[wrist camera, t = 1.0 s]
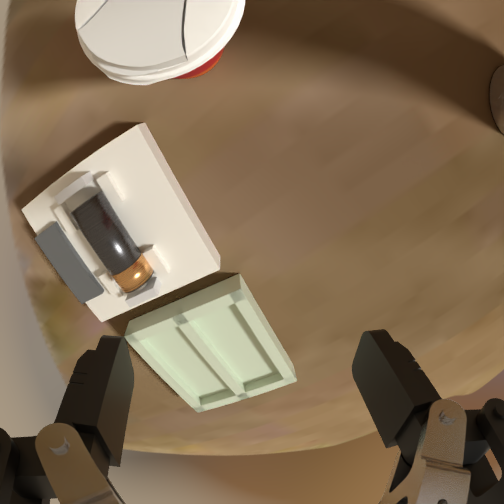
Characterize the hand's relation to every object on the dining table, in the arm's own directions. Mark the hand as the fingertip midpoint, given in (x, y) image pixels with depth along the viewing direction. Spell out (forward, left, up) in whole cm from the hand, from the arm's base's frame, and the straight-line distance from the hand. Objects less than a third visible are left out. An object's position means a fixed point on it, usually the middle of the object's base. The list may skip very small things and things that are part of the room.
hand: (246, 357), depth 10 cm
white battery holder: (+11, -2, -19) cm, 22 cm away
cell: (+11, -2, -17) cm, 20 cm away
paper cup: (-2, -13, -19) cm, 23 cm away
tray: (+10, +15, -19) cm, 26 cm away
